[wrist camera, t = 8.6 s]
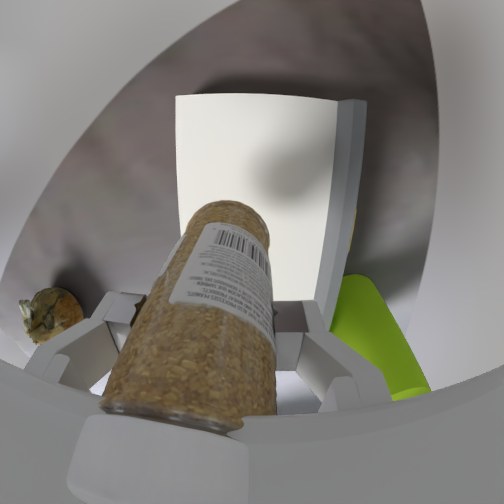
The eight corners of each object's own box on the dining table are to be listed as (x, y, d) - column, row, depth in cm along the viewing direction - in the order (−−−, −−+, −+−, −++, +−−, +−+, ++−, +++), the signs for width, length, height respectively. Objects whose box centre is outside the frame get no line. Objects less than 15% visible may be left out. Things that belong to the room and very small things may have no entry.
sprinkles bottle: (171, 228, 14) (30, 475, 3) (238, 180, 13) (141, 529, 1) (221, 287, 16) (177, 533, 4) (287, 249, 15) (327, 537, 3)
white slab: (311, 320, 27) (321, 365, 21) (198, 317, 27) (188, 363, 21) (340, 105, 17) (372, 102, 12) (186, 98, 17) (160, 92, 12)
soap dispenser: (386, 307, 26) (462, 477, 8) (325, 328, 27) (369, 516, 9) (382, 262, 24) (492, 455, 6) (314, 285, 25) (370, 513, 7)
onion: (40, 301, 27) (8, 341, 20) (52, 262, 24) (11, 305, 17) (83, 336, 29) (57, 382, 22) (102, 304, 26) (70, 356, 19)
